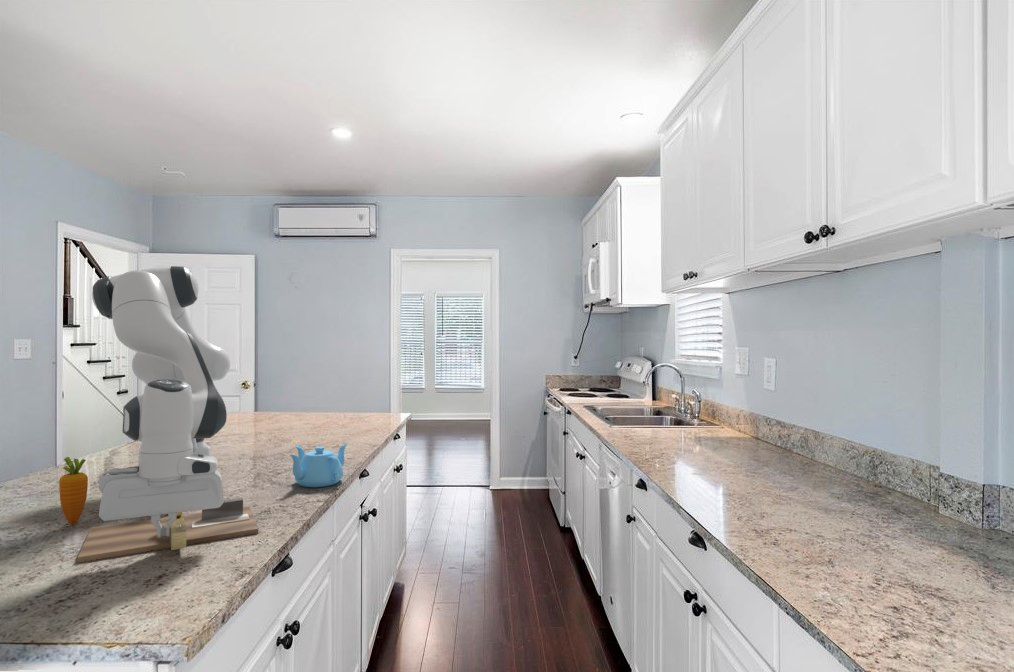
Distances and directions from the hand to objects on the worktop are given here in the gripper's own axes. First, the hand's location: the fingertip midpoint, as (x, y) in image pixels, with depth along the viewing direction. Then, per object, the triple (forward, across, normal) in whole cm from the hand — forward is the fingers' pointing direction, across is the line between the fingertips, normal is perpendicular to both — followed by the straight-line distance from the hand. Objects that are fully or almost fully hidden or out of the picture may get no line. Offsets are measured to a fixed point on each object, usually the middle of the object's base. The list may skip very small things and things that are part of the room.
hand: (163, 536), depth 103 cm
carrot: (+3, -18, +25) cm, 31 cm away
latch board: (+3, +2, +10) cm, 10 cm away
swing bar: (+1, +2, +3) cm, 4 cm away
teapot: (+3, +35, +38) cm, 52 cm away
